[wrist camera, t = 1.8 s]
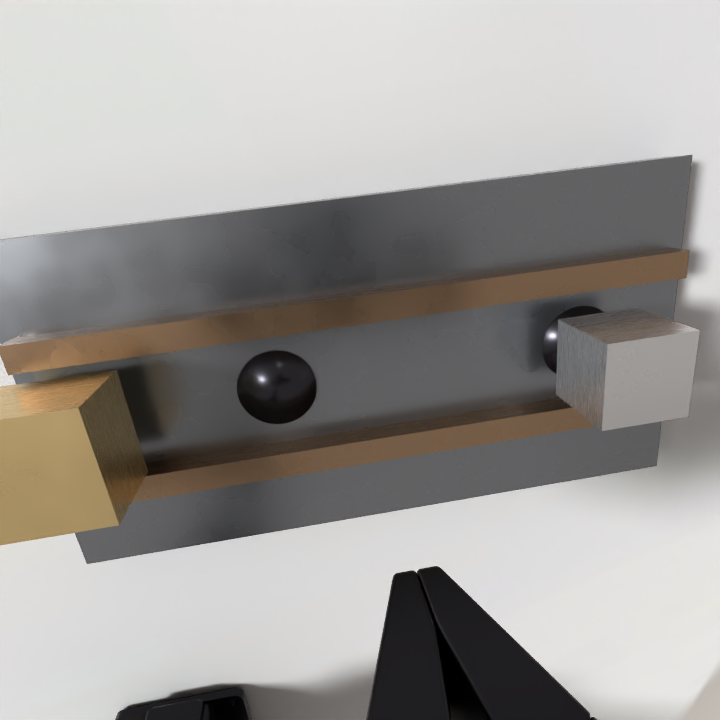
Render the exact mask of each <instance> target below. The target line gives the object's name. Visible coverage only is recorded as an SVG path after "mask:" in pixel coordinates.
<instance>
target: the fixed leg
mask: <svg viewBox="0 0 720 720" xmlns="http://www.w3.org/2000/svg"><path fill="white" fill-rule="evenodd" d="M699 334H700V330H698V329H695V328H692V327H689V326H687V325H684V324H681V323H678V322H675V321H672V320H670V319H667V318H664V317H661V316H658V315H655V314H653V313H650V312H647V311H644V310H641V309H638V308H632V309H625V310H618V311H611V312H604V313H597V314H591V315H584V316H577V317H570V318H563V319H558V341H557V374H556V395H557V396H559V397H560V398H561V399H562V400H564V401H565V402H566V403H567V404H569V405H570V406H571V407H572V408H573V409H575V410H576V411H577V412H578V413H580V414H581V415H582V416H583V417H585V418H586V419H587V420H588V421H590V422H591V423H592V424H593V425H595V426H596V427H597V428H598V429H600V430H601V431H606V430H612V429H618V428H624V427H630V426H636V425H642V424H648V423H654V422H660V421H666V420H672V419H678V418H684V417H688V414H689V407H690V400H691V393H692V385H693V378H694V371H695V363H696V356H697V349H698V341H699Z"/></svg>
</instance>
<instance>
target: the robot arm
mask: <svg viewBox="0 0 720 720" xmlns="http://www.w3.org/2000/svg"><path fill="white" fill-rule="evenodd" d="M115 720H252V718H251V714H250V711H249V707H248V704H247V700H246V697H245V693H244V692H243V690H241V689H238V688H232V689H227V690H222V691H217V692H211V693H206V694H201V695H196V696H191V697H186V698H181V699H175V700H170V701H165V702H160V703H155V704H150V705H145V706H140V707H134V708H129V709H124V710H121V711H120V712H118V714H117V716H116V719H115ZM366 720H597V719H596V718H595V717H591V718H590V713H589V712H588V711H587V710H586V709H585V708H584V707H583V706H582V705H581V704H580V703H579V702H578V701H577V700H576V699H575V698H574V697H573V696H572V695H571V694H570V693H569V692H568V691H567V690H566V689H565V688H564V687H563V686H562V685H561V684H560V683H559V682H558V681H556V680H555V679H554V678H553V677H552V676H551V675H550V674H549V673H548V672H547V671H546V670H545V669H544V668H543V667H542V666H541V665H540V664H539V663H538V662H537V661H536V660H535V659H534V658H533V657H532V656H531V655H530V654H529V653H528V652H527V651H526V650H525V649H524V648H522V647H521V646H520V645H519V644H518V643H517V642H516V641H515V640H514V639H513V638H512V637H511V636H510V635H509V634H508V633H507V632H506V631H505V630H504V629H503V628H502V627H501V626H500V625H499V624H498V623H497V622H496V621H495V620H494V619H493V618H492V617H491V616H490V615H489V614H487V613H486V612H485V611H484V610H483V609H482V608H481V607H480V606H479V605H478V604H477V603H476V602H475V601H474V600H473V599H472V598H471V597H470V596H469V595H468V594H467V593H466V592H465V591H464V590H463V589H462V588H461V587H460V586H459V585H458V584H457V583H456V582H455V581H453V580H452V579H451V578H450V577H449V576H448V575H447V574H446V573H445V572H444V571H443V570H442V569H441V568H440V567H437V566H434V567H429V568H423V569H419V570H418V571H417V573H416V572H415V571H407V572H401V573H396V574H395V575H394V576H393V580H392V585H391V591H390V596H389V601H388V606H387V612H386V617H385V622H384V628H383V633H382V638H381V644H380V649H379V654H378V659H377V665H376V670H375V675H374V681H373V686H372V691H371V697H370V702H369V707H368V712H367V718H366Z"/></svg>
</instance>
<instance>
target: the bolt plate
mask: <svg viewBox="0 0 720 720" xmlns="http://www.w3.org/2000/svg"><path fill="white" fill-rule="evenodd" d="M691 162H692V155H686V156H675V157H663V158H655V159H647V160H639V161H631V162H622V163H614V164H606V165H598V166H590V167H582V168H574V169H566V170H558V171H550V172H542V173H534V174H526V175H517V176H509V177H501V178H493V179H485V180H477V181H469V182H461V183H453V184H445V185H437V186H429V187H421V188H412V189H404V190H396V191H388V192H380V193H372V194H364V195H356V196H348V197H340V198H332V199H324V200H316V201H307V202H299V203H291V204H283V205H275V206H267V207H259V208H251V209H243V210H235V211H227V212H219V213H210V214H202V215H194V216H186V217H178V218H170V219H162V220H154V221H146V222H138V223H130V224H122V225H114V226H105V227H97V228H89V229H81V230H73V231H65V232H57V233H49V234H41V235H33V236H25V237H17V238H9V239H0V344H1V345H0V355H1V358H2V361H3V363H4V366H5V368H6V371H7V373H8V375H12V374H13V377H14V379H15V382H16V384H23V383H30V382H37V381H44V380H51V379H57V378H64V377H71V376H78V375H85V374H92V373H99V372H106V371H113V370H117V373H118V376H119V379H120V383H121V386H122V389H123V392H124V396H125V399H126V402H127V405H128V408H129V412H130V415H131V418H132V421H133V424H134V428H135V431H136V434H137V437H138V440H139V444H140V447H141V450H142V453H143V457H144V460H145V463H146V466H147V469H148V473H147V475H146V476H145V478H144V480H143V482H142V484H141V486H140V488H139V490H138V491H137V493H136V495H135V497H134V499H133V501H132V503H131V504H130V506H129V508H128V510H127V512H126V514H125V516H124V518H123V519H122V521H121V523H120V525H118V526H112V527H106V528H100V529H94V530H88V531H82V532H76V533H75V535H76V537H77V540H78V542H79V545H80V547H81V550H82V552H83V555H84V557H85V560H86V563H87V564H90V563H96V562H101V561H107V560H113V559H119V558H125V557H130V556H136V555H142V554H148V553H154V552H159V551H165V550H171V549H177V548H183V547H188V546H194V545H200V544H206V543H212V542H217V541H223V540H229V539H235V538H241V537H246V536H252V535H258V534H264V533H270V532H275V531H281V530H287V529H293V528H299V527H304V526H310V525H316V524H322V523H328V522H333V521H339V520H345V519H351V518H357V517H362V516H368V515H374V514H380V513H386V512H391V511H397V510H403V509H409V508H415V507H420V506H426V505H432V504H438V503H444V502H449V501H455V500H461V499H467V498H473V497H478V496H484V495H490V494H496V493H502V492H507V491H513V490H519V489H525V488H531V487H536V486H542V485H548V484H554V483H560V482H565V481H571V480H577V479H583V478H589V477H594V476H600V475H606V474H612V473H618V472H623V471H629V470H635V469H641V468H647V467H652V466H656V465H657V456H658V448H659V439H660V430H661V422H662V421H660V422H654V423H648V424H642V425H636V426H630V427H624V428H618V429H612V430H606V431H601V430H600V429H598V428H597V427H596V426H595V425H593V424H592V423H591V422H590V421H588V420H587V419H586V418H585V417H583V416H582V415H581V414H580V413H578V412H577V411H576V410H575V409H573V408H572V407H571V406H570V405H569V404H567V403H566V402H565V401H564V400H562V399H561V398H560V397H559V396H557V395H556V374H557V341H558V319H563V318H570V317H577V316H584V315H591V314H597V313H604V312H611V311H618V310H625V309H632V308H638V309H641V310H644V311H647V312H650V313H653V314H655V315H658V316H661V317H664V318H667V319H670V320H672V321H673V318H674V309H675V301H676V292H677V283H678V279H682V278H686V274H687V266H688V258H689V250H683V249H682V240H683V231H684V223H685V214H686V205H687V197H688V188H689V179H690V171H691Z"/></svg>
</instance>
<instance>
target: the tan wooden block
mask: <svg viewBox="0 0 720 720" xmlns="http://www.w3.org/2000/svg"><path fill="white" fill-rule="evenodd" d="M147 473H148V469H147V466H146V463H145V460H144V457H143V453H142V450H141V447H140V444H139V440H138V437H137V434H136V431H135V428H134V424H133V421H132V418H131V415H130V412H129V408H128V405H127V402H126V399H125V396H124V392H123V389H122V386H121V383H120V379H119V376H118V373H117V370H113V371H106V372H99V373H92V374H85V375H78V376H71V377H64V378H57V379H51V380H44V381H37V382H30V383H23V384H16V385H9V386H2V387H0V545H5V544H11V543H17V542H23V541H29V540H34V539H40V538H46V537H52V536H58V535H64V534H70V533H76V532H82V531H88V530H94V529H100V528H106V527H112V526H118V525H120V523H121V521H122V519H123V518H124V516H125V514H126V512H127V510H128V508H129V506H130V504H131V503H132V501H133V499H134V497H135V495H136V493H137V491H138V490H139V488H140V486H141V484H142V482H143V480H144V478H145V476H146V475H147Z"/></svg>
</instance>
